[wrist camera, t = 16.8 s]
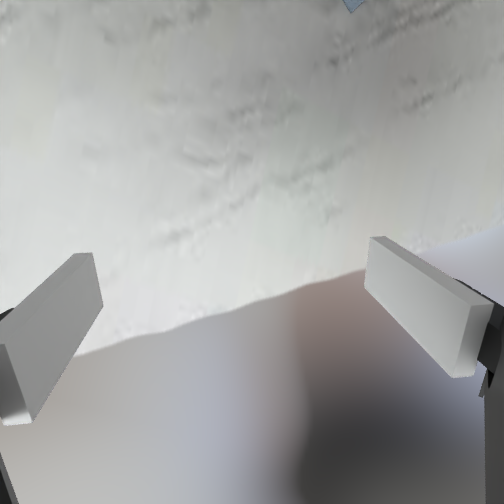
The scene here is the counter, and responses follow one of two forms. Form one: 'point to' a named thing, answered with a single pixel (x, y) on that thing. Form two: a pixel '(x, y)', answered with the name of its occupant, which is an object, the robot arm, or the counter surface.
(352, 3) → the mat
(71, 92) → the counter surface
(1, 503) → the robot arm
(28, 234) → the counter surface
